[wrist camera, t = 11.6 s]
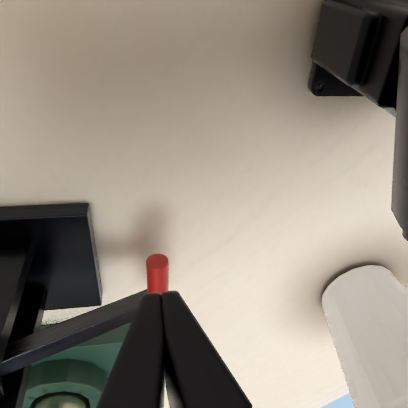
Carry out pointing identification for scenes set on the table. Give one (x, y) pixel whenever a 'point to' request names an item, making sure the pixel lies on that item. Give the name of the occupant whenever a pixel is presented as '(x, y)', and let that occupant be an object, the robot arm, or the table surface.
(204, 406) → the robot arm
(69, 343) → the lever
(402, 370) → the cup
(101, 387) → the button box
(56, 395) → the button
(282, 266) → the table surface
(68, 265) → the bracket
